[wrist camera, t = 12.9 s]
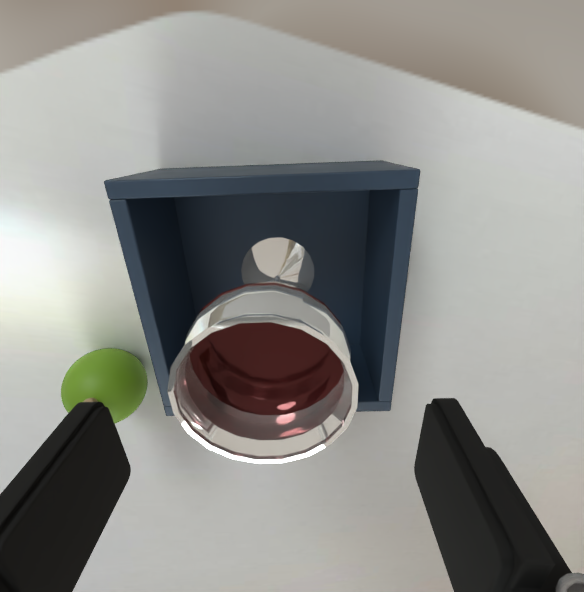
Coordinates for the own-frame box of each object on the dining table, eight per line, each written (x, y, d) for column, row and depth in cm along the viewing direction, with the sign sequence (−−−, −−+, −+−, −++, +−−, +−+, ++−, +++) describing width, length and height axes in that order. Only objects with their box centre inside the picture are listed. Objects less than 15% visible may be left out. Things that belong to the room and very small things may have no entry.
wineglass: (282, 333, 24) (273, 488, 14) (207, 275, 22) (128, 403, 12) (348, 270, 22) (401, 394, 11) (272, 200, 20) (249, 270, 9)
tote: (159, 168, 20) (102, 180, 14) (382, 160, 20) (421, 168, 14) (195, 352, 26) (165, 416, 20) (368, 348, 26) (390, 411, 20)
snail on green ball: (74, 376, 27) (-73, 535, 16) (105, 322, 25) (-42, 464, 14) (135, 406, 28) (37, 571, 17) (170, 357, 26) (82, 511, 15)
